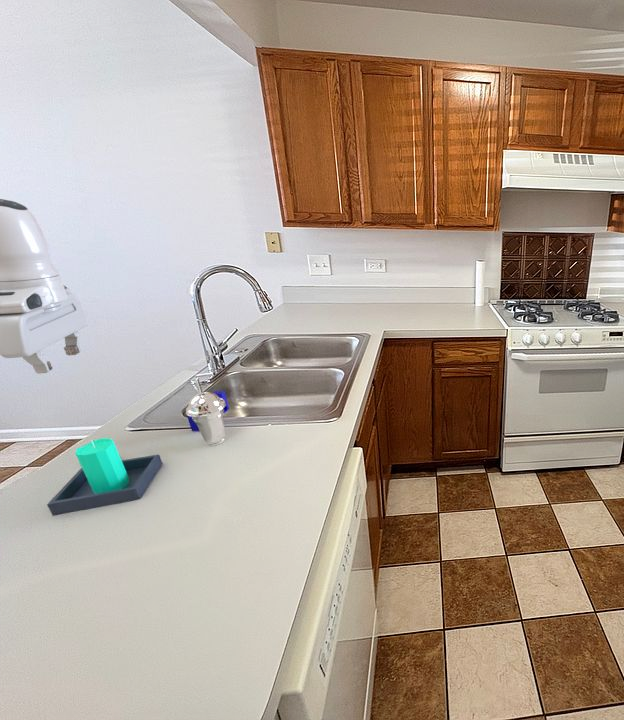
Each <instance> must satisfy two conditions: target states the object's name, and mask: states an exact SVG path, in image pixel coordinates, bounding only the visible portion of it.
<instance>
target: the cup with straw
mask: <svg viewBox="0 0 624 720" xmlns="http://www.w3.org/2000/svg"><path fill="white" fill-rule="evenodd" d="M210 376H216V372H214V371H213V372H204V373H197V374H195V376H194V380H195V383H196V387H197V390H198V393H197V394H195V395H194V396H193V397H191V398H190V400H189V403H188V406H187V407H186V409H185V415H186V416H187V415H188V416H191V417H192V419H193V420H194V422H195V423H196V425H197V427H198V429H199V431H198V432H200V434H201V437H202V439H203V440H204V442H205V444H206V446H208V447H213V446H217V445H221V444H223V443H224V442H225V441H226V440H227V436H226V435H227V431H226V424H225V419H224V415H225V413H224V412H223V411H224V409H223V408H224V407H225V406H226V402H225V401H224V400H223V399H221V398H219V397H218V396H217V395H216V394H214V393H213V392H211V391H203V389H202V388H203V387H202V385H201V382H200V379H199V378H202V377H210Z"/></svg>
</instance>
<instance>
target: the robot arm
mask: <svg viewBox="0 0 624 720" xmlns="http://www.w3.org/2000/svg"><path fill="white" fill-rule="evenodd" d="M51 259H52V258H51V248H50V246H49V244H48V241H47V238H46V236H45V234H44V232H43V230H42V227H41V225H40V224H39V222H38V220H37V219H36V217H35V215H34V214H33V213H32V211H31V210H30V208H28V207H26V206H25V205H23V204H21V203H19V202H16V201H13V200H8V199H4V198H3V199H2V198H0V356H1V357H2V358H5V359H17V358H22V359H23V360H24V361H26V362H27V363H28V364H29V365H31V367H32V368H33V370H34V372H35V374H40V375H41V374H47V373H49V372H50V371H52V370H53V366H52V363H51V361H50V360H49V361H46V360H45V359H44V358H43V357H42V356H43V354H44V353H43V351H42V350H44V349H46V348H48V347H50V346H51V345H54V344H55V343H57V342H59V341H61V340H63V339H64V343H65V346H64V347H63V350H64V352H65V355H67V356H76V355H78V354H80V353H81V352H82V350H81V347H80V345H79V344H80V333H79V331H80V330H82V329H84V328H85V327H87V326H89V325H88V324H89V318H88V316H87V313H86V311H85V309H84V307H83V305H82V302H81V301H80V299H79V298H78V296H77V295H76V294H74V293H72V291H71V289H70V288H69V287H67V286H66V285H64V283H63V281H62V277H61V275H60V272H59V271H58V269H57V268H56V267H55V265H54V264H53V263H52V260H51Z"/></svg>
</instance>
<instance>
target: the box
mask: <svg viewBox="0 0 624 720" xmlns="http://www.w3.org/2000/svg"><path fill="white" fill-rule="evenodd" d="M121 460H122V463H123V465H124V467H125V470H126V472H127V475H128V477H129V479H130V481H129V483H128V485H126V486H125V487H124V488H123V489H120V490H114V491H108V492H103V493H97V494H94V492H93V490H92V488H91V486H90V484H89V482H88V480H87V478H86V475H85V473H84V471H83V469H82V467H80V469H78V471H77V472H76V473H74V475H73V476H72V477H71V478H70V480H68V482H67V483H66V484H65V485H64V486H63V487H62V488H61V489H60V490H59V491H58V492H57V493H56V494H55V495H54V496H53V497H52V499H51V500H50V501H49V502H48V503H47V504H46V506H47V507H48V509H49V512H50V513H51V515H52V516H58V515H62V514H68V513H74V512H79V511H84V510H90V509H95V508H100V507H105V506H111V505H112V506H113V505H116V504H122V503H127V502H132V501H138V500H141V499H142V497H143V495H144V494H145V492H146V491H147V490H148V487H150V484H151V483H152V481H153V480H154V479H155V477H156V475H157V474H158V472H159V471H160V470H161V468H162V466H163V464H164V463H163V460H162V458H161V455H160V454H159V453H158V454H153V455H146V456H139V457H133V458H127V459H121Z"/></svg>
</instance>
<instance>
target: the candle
mask: <svg viewBox="0 0 624 720" xmlns="http://www.w3.org/2000/svg"><path fill="white" fill-rule="evenodd" d="M74 454H75V457H76V459H77V461H78V463H79V465H80V468H82V469H83V471H84V473H85V475H86V478H87V480H88V482H89V484H90V486H91V488H92V490H93V492H94V494H97V493H103V492H108V491H114V490H120V489H123V488H124V487H125V486H126V485H128V483H129V481H130V479H129V477H128V475H127V472H126V470H125V467H124V465H123V463H122V460H123V459H122V458H121V456H120V453H119V451H118V449H117V446H116V444H115V442H114V440H113V439H112V438H111V437H110V438H109V437H102V438H98V439H95V440H93V439H91V440H90V442H88V443H87V444H85V445H83V446H82V445H81V446H80V447H77V448H76V451H75V453H74Z"/></svg>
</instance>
